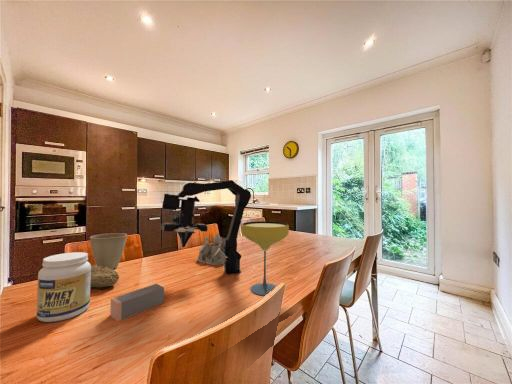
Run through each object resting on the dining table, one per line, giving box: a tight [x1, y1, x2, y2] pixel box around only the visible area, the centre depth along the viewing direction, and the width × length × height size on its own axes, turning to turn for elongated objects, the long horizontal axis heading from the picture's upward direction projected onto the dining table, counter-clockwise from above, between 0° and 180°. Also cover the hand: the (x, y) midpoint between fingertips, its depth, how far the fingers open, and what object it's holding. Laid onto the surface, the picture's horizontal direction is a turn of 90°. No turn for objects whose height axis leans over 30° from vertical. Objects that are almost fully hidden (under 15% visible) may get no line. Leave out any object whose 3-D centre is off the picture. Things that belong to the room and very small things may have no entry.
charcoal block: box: [109, 283, 165, 322], centre depth 69 cm, size 5×5×14 cm
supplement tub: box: [36, 251, 92, 323], centre depth 67 cm, size 12×12×17 cm
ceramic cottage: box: [196, 232, 227, 266], centre depth 120 cm, size 16×16×15 cm
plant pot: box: [89, 232, 128, 270], centre depth 106 cm, size 15×15×16 cm
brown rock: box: [90, 264, 120, 288], centre depth 88 cm, size 13×8×20 cm
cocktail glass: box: [241, 220, 290, 297], centre depth 84 cm, size 18×18×25 cm
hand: (183, 247), depth 95 cm, fingers closed
